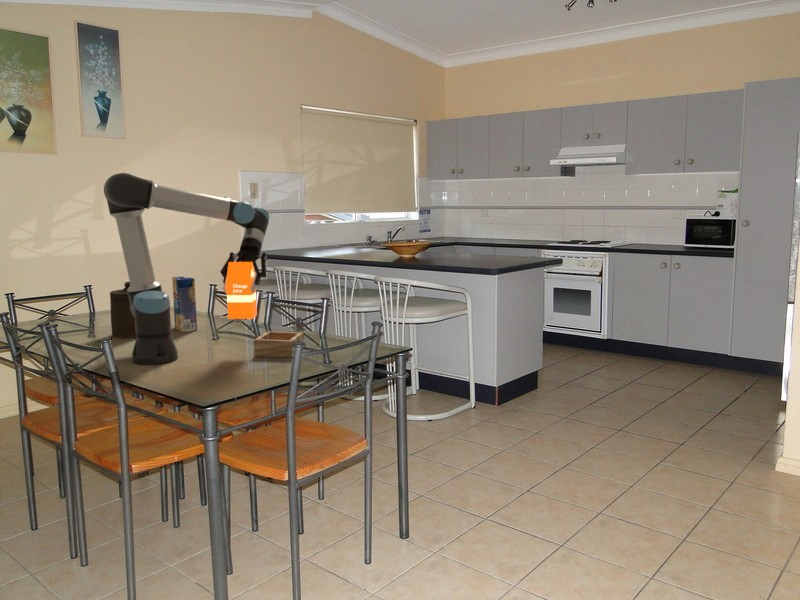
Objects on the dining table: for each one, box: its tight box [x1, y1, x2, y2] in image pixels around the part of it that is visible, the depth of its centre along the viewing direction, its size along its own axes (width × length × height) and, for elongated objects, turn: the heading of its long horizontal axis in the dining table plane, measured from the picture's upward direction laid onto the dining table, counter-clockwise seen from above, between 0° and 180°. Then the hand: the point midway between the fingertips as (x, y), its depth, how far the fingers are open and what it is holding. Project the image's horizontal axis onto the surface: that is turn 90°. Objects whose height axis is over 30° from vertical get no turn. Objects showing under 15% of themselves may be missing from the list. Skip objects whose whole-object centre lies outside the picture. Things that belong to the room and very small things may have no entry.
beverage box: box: [171, 275, 198, 333], centre depth 287 cm, size 7×11×22 cm, turn 30°
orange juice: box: [226, 261, 258, 320], centre depth 242 cm, size 8×9×20 cm
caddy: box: [253, 330, 305, 359], centre depth 246 cm, size 15×14×6 cm
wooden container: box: [109, 281, 136, 339], centre depth 275 cm, size 15×15×22 cm
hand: (238, 291), depth 239 cm, fingers closed on orange juice, 9 cm apart
